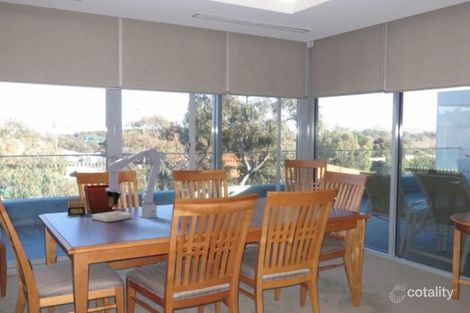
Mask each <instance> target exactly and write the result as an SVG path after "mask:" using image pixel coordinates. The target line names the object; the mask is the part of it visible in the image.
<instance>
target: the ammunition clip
mask: <svg viewBox="0 0 470 313" xmlns="http://www.w3.org/2000/svg"><path fill="white" fill-rule="evenodd" d="M85 215H86V197H85V195H83V196H77V197H76V196H74V198H73V196H71V197H70V196H69V197H68V199H67V216H85Z"/></svg>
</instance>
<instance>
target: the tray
mask: <svg viewBox="0 0 470 313" xmlns="http://www.w3.org/2000/svg"><path fill="white" fill-rule="evenodd" d="M131 217H132V213H129V212H124V211H119V210H115V211H108V212H99V213H95V214H93V213H92V220H94V221H99V222H103V223H109V222H110V223H111V222H116V221H122V220H129V219H131Z"/></svg>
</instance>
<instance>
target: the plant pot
mask: <svg viewBox="0 0 470 313" xmlns="http://www.w3.org/2000/svg"><path fill="white" fill-rule="evenodd" d="M105 188H109V184H91V185H83V192H84V198H85V202H86V204H87V207H88V211H90V212H91V213H107V212H113V211H112V210H113V208H114V207H109V199H108V196H107V194H106V193H107V192H108V191H105Z"/></svg>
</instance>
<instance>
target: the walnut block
mask: <svg viewBox="0 0 470 313" xmlns="http://www.w3.org/2000/svg"><path fill="white" fill-rule="evenodd" d="M109 207H113V208H118V207H119V202H118V203H117V204H114V201H113V197H109Z"/></svg>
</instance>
